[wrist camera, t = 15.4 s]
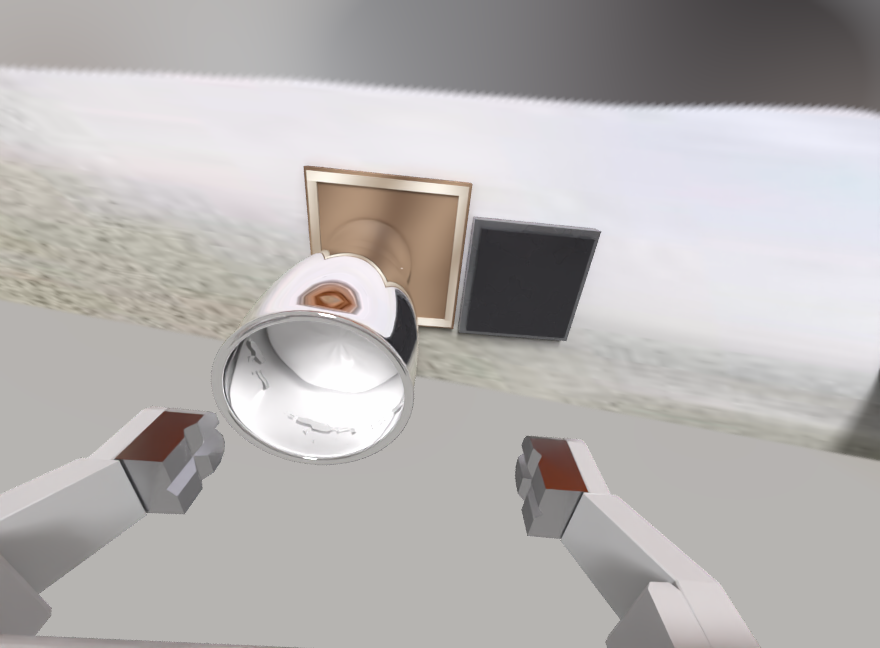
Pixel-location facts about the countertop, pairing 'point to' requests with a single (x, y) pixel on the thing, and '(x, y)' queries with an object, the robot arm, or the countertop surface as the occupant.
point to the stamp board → (399, 226)
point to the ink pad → (524, 278)
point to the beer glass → (326, 353)
